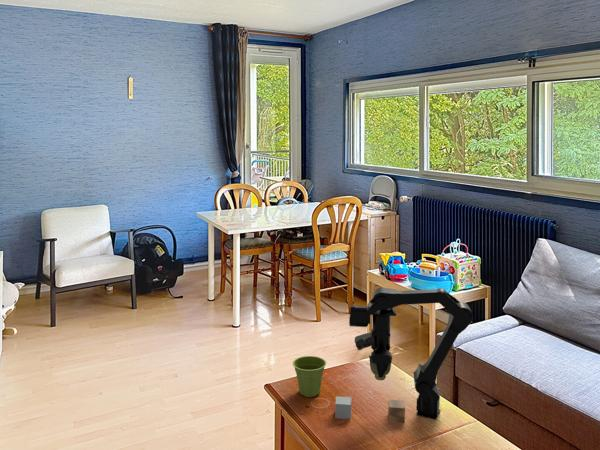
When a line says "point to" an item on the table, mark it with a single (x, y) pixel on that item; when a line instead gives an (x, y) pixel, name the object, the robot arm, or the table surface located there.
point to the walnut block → (396, 411)
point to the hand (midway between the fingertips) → (380, 372)
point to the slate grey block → (343, 407)
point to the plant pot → (309, 374)
